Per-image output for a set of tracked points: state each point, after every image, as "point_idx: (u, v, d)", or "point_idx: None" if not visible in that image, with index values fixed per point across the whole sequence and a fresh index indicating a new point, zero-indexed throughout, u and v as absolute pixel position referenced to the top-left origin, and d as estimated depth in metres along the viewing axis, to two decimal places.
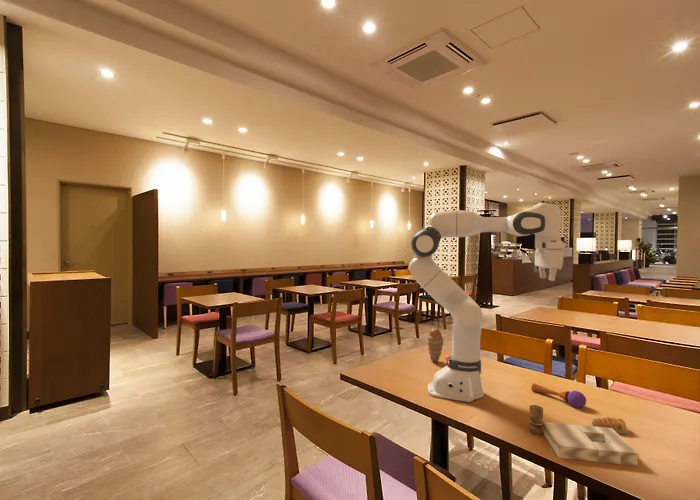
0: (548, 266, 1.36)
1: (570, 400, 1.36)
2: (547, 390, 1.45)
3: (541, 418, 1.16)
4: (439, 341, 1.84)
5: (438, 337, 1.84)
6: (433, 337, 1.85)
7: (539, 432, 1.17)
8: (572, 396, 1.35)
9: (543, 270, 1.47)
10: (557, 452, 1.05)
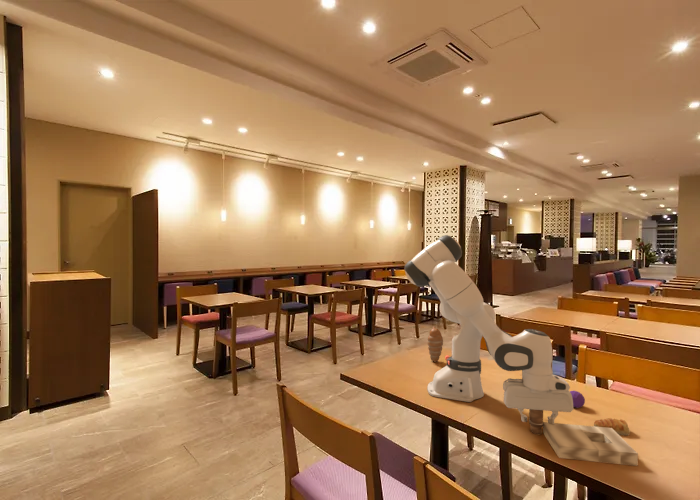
0: (561, 409, 1.15)
1: None
2: None
3: (541, 418, 1.16)
4: (439, 341, 1.84)
5: (438, 337, 1.84)
6: (433, 337, 1.85)
7: (539, 432, 1.17)
8: None
9: None
10: (557, 452, 1.05)
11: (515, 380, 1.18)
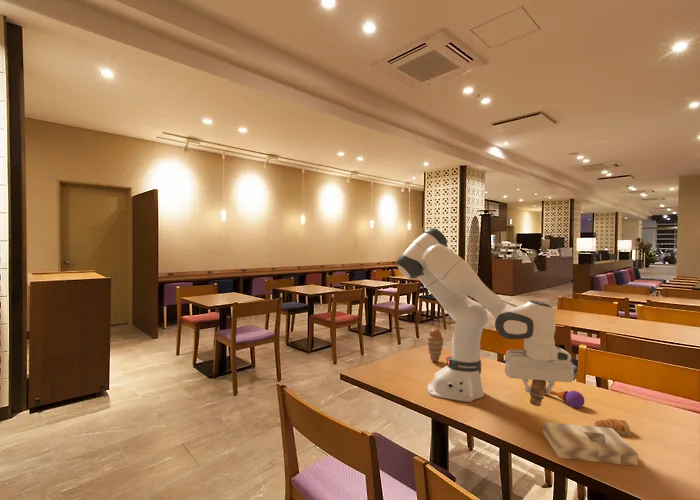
0: (562, 379, 1.16)
1: (568, 400, 1.36)
2: None
3: (543, 390, 1.17)
4: (439, 341, 1.84)
5: (438, 337, 1.84)
6: (433, 337, 1.85)
7: (538, 404, 1.17)
8: (571, 396, 1.35)
9: None
10: (557, 452, 1.05)
11: (517, 351, 1.19)
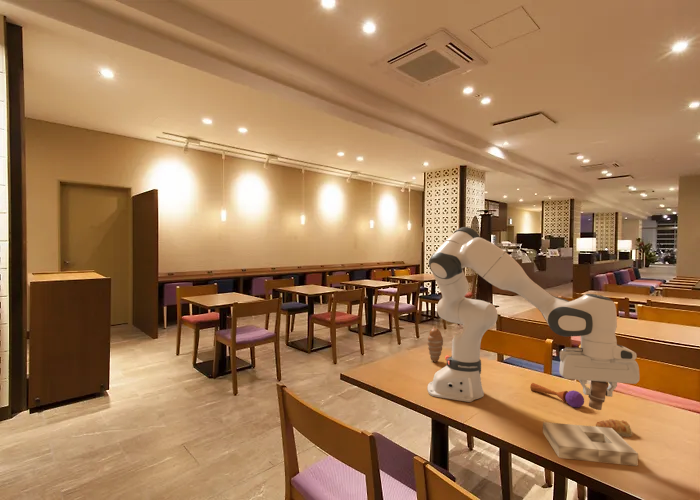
0: (625, 380, 1.05)
1: (568, 400, 1.36)
2: (546, 390, 1.46)
3: (604, 393, 1.06)
4: (439, 341, 1.84)
5: (438, 337, 1.84)
6: (433, 337, 1.85)
7: (599, 407, 1.06)
8: (570, 395, 1.36)
9: None
10: (557, 452, 1.05)
11: (573, 349, 1.08)
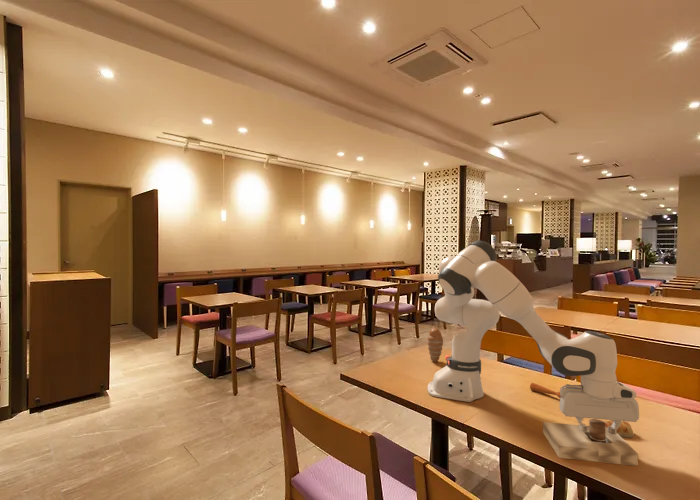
0: (625, 419, 1.05)
1: None
2: (545, 389, 1.46)
3: (603, 434, 1.07)
4: (439, 341, 1.84)
5: (438, 337, 1.84)
6: (433, 337, 1.85)
7: None
8: None
9: None
10: (557, 452, 1.05)
11: (574, 386, 1.09)
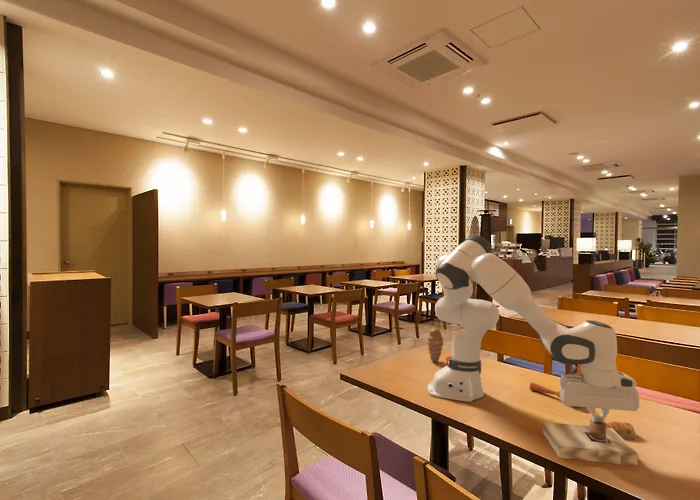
0: (625, 408, 1.05)
1: None
2: (545, 389, 1.46)
3: (604, 434, 1.07)
4: (439, 341, 1.84)
5: (438, 337, 1.84)
6: (433, 337, 1.85)
7: None
8: None
9: None
10: (557, 452, 1.05)
11: (574, 376, 1.09)
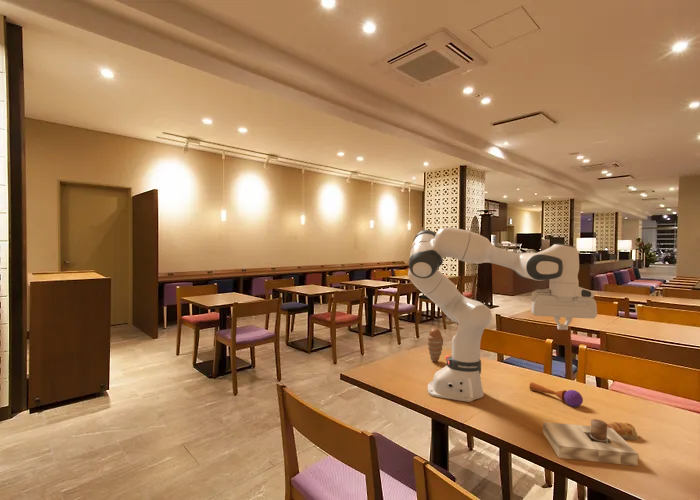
0: (585, 316, 1.24)
1: (566, 399, 1.37)
2: (545, 389, 1.46)
3: (605, 434, 1.06)
4: (439, 341, 1.84)
5: (438, 337, 1.84)
6: (433, 337, 1.85)
7: None
8: (569, 395, 1.36)
9: None
10: (557, 452, 1.05)
11: (543, 290, 1.28)
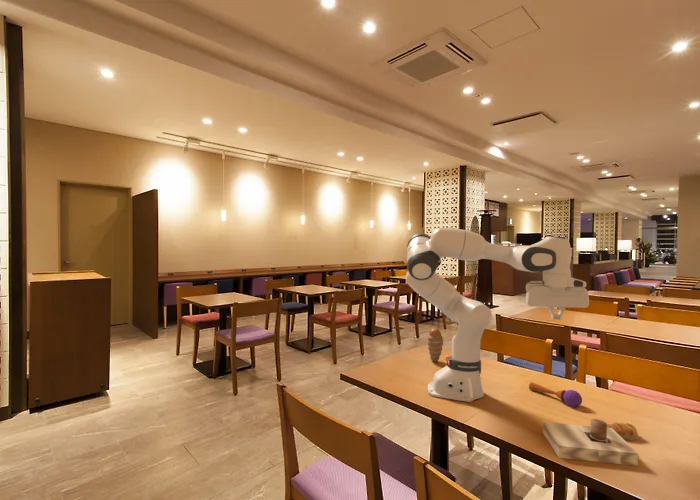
0: (578, 305, 1.28)
1: (566, 399, 1.37)
2: (544, 389, 1.46)
3: (605, 434, 1.07)
4: (439, 341, 1.84)
5: (438, 337, 1.84)
6: (433, 337, 1.85)
7: None
8: (568, 395, 1.36)
9: None
10: (557, 452, 1.05)
11: (537, 282, 1.32)
